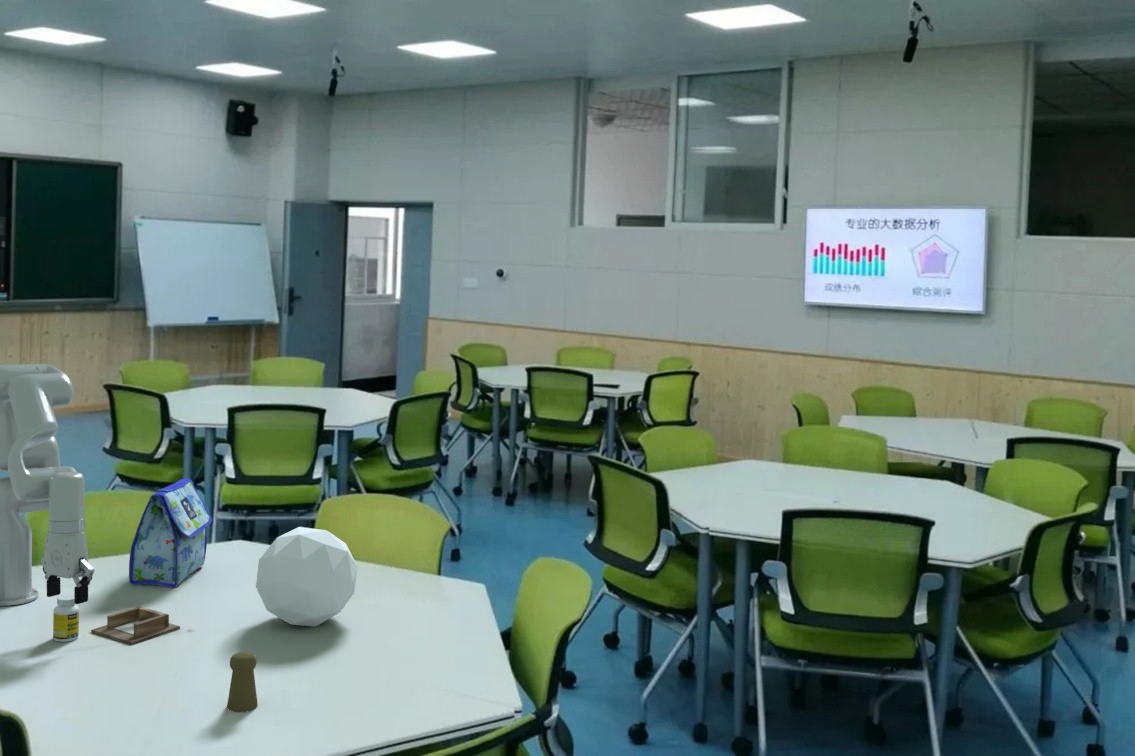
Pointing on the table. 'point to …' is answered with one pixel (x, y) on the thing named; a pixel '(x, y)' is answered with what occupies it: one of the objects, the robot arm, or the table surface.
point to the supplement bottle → (65, 619)
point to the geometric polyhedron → (306, 576)
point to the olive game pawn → (242, 683)
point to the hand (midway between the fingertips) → (67, 599)
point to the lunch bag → (170, 536)
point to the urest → (136, 625)
